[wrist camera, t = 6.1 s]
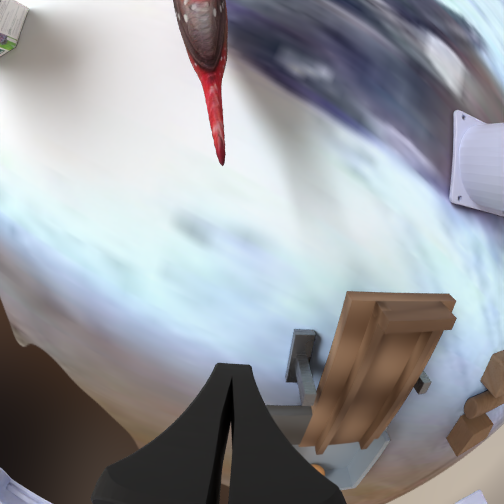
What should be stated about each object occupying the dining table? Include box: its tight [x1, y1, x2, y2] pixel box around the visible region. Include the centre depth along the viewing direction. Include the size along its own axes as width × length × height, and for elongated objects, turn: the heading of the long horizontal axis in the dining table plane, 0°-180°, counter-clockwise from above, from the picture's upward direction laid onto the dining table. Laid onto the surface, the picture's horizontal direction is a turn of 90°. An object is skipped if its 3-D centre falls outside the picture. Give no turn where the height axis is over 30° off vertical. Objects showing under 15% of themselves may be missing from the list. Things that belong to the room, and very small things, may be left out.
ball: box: [311, 464, 325, 476], centre depth 25 cm, size 3×3×3 cm
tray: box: [292, 426, 390, 490], centre depth 24 cm, size 12×12×4 cm
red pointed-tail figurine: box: [173, 0, 228, 166], centre depth 11 cm, size 3×18×10 cm, turn 9°
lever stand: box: [285, 329, 431, 406], centre depth 20 cm, size 5×11×6 cm, turn 86°
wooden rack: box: [266, 291, 457, 455], centre depth 17 cm, size 16×12×3 cm
